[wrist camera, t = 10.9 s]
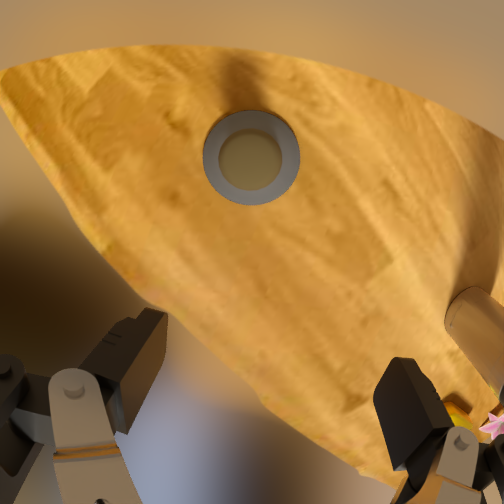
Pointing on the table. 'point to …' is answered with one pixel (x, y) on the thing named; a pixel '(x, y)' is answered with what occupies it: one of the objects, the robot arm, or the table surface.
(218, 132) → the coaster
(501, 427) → the lily
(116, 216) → the table surface
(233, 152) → the olive game pawn
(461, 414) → the element tile
